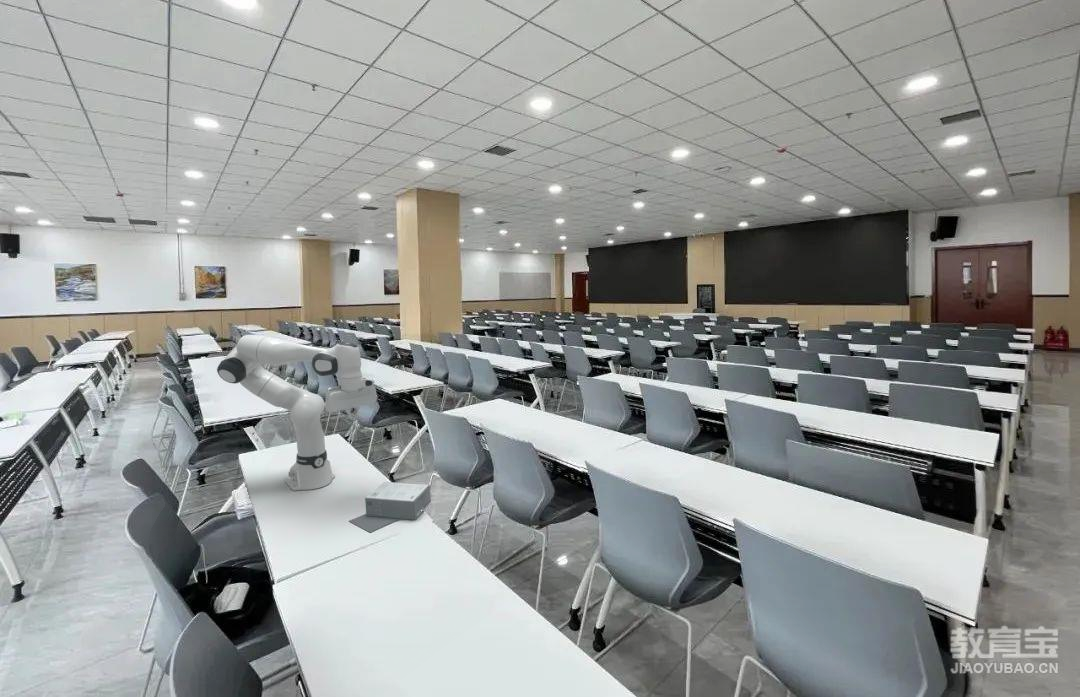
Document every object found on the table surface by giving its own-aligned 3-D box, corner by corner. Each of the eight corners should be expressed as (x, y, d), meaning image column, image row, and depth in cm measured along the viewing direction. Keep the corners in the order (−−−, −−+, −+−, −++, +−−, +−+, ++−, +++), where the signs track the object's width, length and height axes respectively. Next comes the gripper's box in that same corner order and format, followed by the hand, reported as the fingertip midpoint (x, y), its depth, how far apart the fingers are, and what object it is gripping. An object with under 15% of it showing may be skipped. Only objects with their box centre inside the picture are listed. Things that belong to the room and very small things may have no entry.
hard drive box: (365, 516, 191) (414, 520, 187) (363, 497, 190) (413, 501, 186) (385, 498, 206) (431, 501, 202) (384, 480, 205) (430, 483, 201)
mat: (348, 521, 188) (348, 520, 188) (398, 500, 205) (398, 500, 204) (370, 533, 179) (370, 532, 179) (420, 510, 196) (420, 509, 196)
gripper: (329, 389, 186) (332, 426, 188) (377, 380, 202) (380, 413, 204) (320, 387, 190) (323, 423, 192) (368, 378, 206) (371, 411, 208)
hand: (353, 418), depth 198 cm, fingers closed
